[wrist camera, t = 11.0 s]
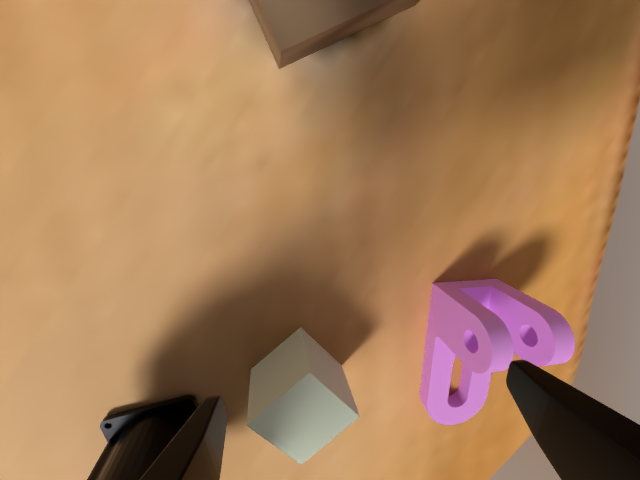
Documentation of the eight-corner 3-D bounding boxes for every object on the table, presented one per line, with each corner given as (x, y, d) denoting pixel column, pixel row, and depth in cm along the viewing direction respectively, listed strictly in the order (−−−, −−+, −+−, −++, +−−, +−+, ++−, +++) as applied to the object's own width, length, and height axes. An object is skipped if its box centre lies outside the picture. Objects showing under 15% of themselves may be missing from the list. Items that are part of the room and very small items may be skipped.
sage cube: (294, 403, 24) (301, 464, 19) (250, 368, 22) (246, 425, 18) (341, 364, 24) (359, 416, 19) (300, 326, 22) (309, 372, 17)
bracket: (431, 282, 23) (497, 332, 16) (495, 277, 24) (581, 323, 17) (416, 415, 27) (464, 501, 20) (472, 407, 27) (536, 487, 21)
